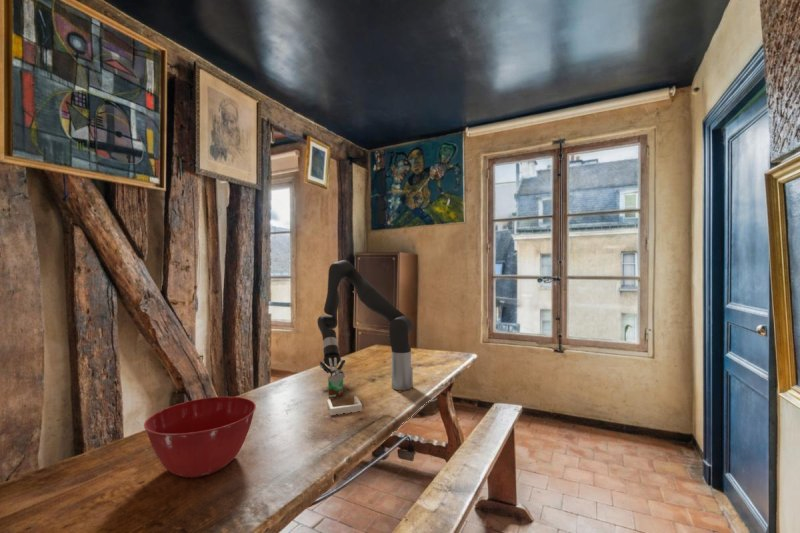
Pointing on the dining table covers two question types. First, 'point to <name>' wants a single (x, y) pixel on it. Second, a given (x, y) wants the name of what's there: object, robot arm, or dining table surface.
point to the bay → (345, 407)
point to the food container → (336, 383)
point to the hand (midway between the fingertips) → (334, 379)
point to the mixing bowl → (200, 434)
